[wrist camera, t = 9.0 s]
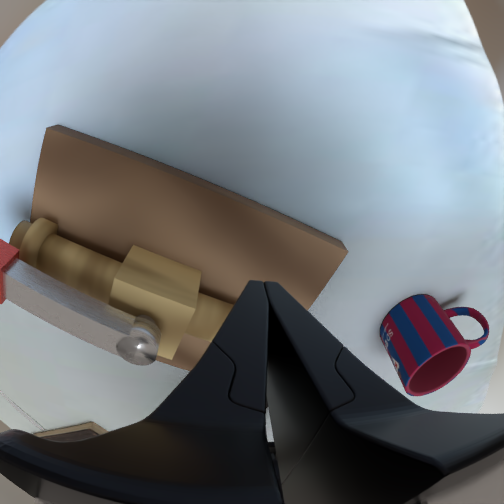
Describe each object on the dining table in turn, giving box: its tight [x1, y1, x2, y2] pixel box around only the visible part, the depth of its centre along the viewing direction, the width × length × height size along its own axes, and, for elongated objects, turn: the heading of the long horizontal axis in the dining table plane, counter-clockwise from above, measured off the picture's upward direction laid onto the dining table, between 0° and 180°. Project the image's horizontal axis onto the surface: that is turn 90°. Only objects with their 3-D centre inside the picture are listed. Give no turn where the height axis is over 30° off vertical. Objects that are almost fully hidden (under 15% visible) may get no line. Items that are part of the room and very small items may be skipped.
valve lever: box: [0, 239, 161, 365], centre depth 15 cm, size 14×3×2 cm, turn 61°
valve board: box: [9, 125, 348, 371], centre depth 20 cm, size 16×22×6 cm
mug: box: [380, 295, 489, 396], centre depth 23 cm, size 7×10×7 cm
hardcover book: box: [34, 422, 108, 442], centre depth 39 cm, size 16×23×2 cm
